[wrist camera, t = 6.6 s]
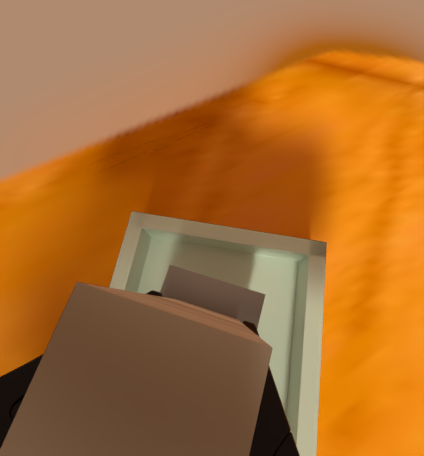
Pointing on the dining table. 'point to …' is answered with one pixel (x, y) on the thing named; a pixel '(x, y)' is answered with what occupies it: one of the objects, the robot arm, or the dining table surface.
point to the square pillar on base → (147, 374)
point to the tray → (251, 279)
